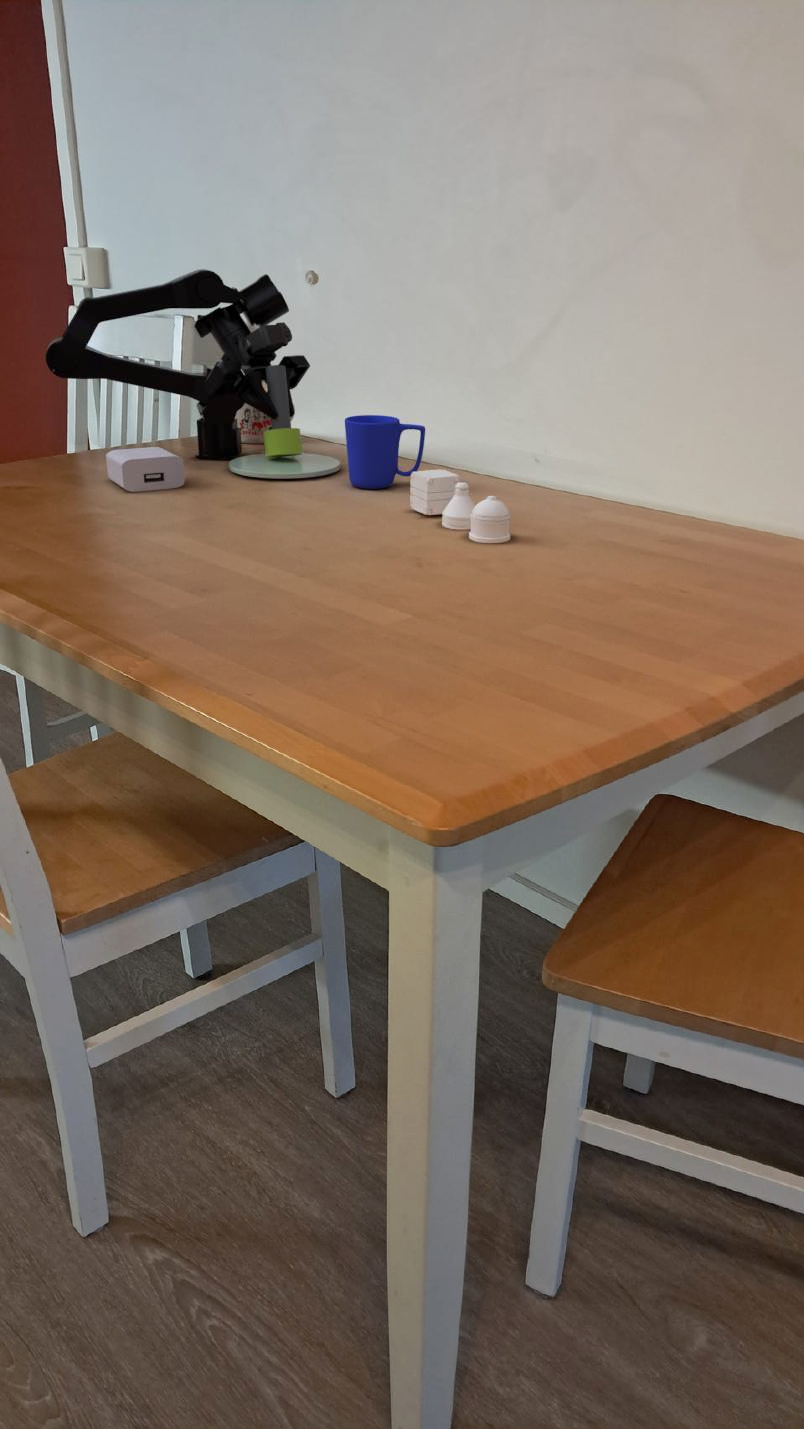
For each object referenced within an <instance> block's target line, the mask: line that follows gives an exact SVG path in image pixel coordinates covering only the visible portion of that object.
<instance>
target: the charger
mask: <svg viewBox="0 0 804 1429" xmlns="http://www.w3.org/2000/svg"><path fill="white" fill-rule="evenodd" d="M105 460H106V470H107V477H108V479H109V480H111V481H112V482H114V483H115V484H116V485H118V486H119V487H121V488H122V489H124V490H125V491H127V492H129V493H130V492H131V493H136V492H137V493H139V492H149V491H159V490H160V491H161V490H171V489H177V488H180V487H182V486H183V485H184V484H185V472H184V470H185V469H184V460H183V458H181V457H180V456H178V455H176V454H174V453H172V452H170V451H168V450H166V449H164V448H162V447H160V446H150V447H149V446H147V447H136V448H133V447H132V448H121V449H112V450H110V451H109V452H107V453H106V454H105Z"/></svg>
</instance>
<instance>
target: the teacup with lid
mask: <svg viewBox="0 0 804 1429" xmlns="http://www.w3.org/2000/svg"><path fill="white" fill-rule="evenodd" d="M262 385H263V387H264V389H265V391H266V393H267V391H268V389H267V384H266V383H265V382H264V381H263V382H262ZM293 406H294V411H295V412H296V408H295V405H294V404H293ZM294 417H295V414H294V415H293V417H290V421H291V422H292V421H293V419H294ZM235 419H237V426H238V428H240V429H241V444H249V445H258V444H259V445H262V444H263V445H264V435H263V432H264V431H267V430H272V428H271V419H270V417H269V416H267V415H266V414H264V413H262V412H261V411H259V410H257V409H255V408H254V407H252V406H250V405H248V404H246V403H245V404H244V406H243V407H242V408H241V409H240V410H238V411H237V413H236V417H235Z"/></svg>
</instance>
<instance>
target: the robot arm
mask: <svg viewBox="0 0 804 1429" xmlns="http://www.w3.org/2000/svg"><path fill="white" fill-rule="evenodd" d="M221 304H230V305H227V306H223V307H220V306H219V305H221ZM218 306H219V307H218ZM169 309H182V310H183V309H184V310H185V309H186V310H187V309H188V310H197V309H200V310H201V309H205V310H207V309H213V310H212V311H210V312H209V313H207V314H203V315H202V314H198V315H197V319H196V321H195V323H194V326H193V327H194V329H195V331H196V333H197V335H198V337H199V338H201V339H202V338H204V337H206V336H208V335H209V334H211V336H212V337H213V339H214V340H215V342H216V344H217V345H218V347H219V348H220V350H221V351H222V353H223V355H222V357H221V358H220V360H221V361H220V360H219V361H216V363H215V364H214V366H213V367H212V366H209V365H207V364H203V366H202V367H203V368H202V369H203V370H202V372H188V371H184V370H181V369H175V368H170V367H165V366H161V365H157V364H153V363H148V362H144V361H139V360H134V359H130V358H124V357H121V356H116V355H111V354H107V353H105V352H102V351H100V350H99V349H96V348H94V347H91V346H90V345H88V344H89V343H90V341H91V339H92V337H93V335H94V333H95V331H96V329H97V327H98V326H99V324H101V323H104V322H108V321H113V320H118V319H123V318H124V319H125V318H129V317H133V316H138V315H144V314H149V313H154V312H159V311H165V310H169ZM289 312H290V308H289V306H288V304H287V301H286V299H285V297H284V295H283V293H282V292H281V291H279V289H278V288H277V286H276V284H274V282H273V281H272V279H271V277H270V275H268V274H265V273H264V274H263V275H261V276H259V277H258V278H257V279H256V280H255V281H254V282H252V283H251V284H249V285H247V286H246V287H244V288H243V289H240V290H239V289H238V288H236V287H234V286H231V287H230V286H228V285H226V284H225V283H224V281H223V279H222V278H221V276H220V275H219V274H218V273H217V272H215V271H213V270H209V269H204V268H199V269H196V270H193V271H191V272H188V273H186V274H183V275H181V276H179V277H176V278H174V279H172V280H169V281H167V282H165V283H162V284H158V285H152V286H147V287H142V288H137V289H132V290H131V289H130V290H126V291H121V292H116V293H111V294H106V295H101V296H96V297H95V296H94V297H93V296H86V297H83V299H81V300H80V301H79V304H78V306H77V310H76V311H75V313H74V315H73V317H72V318H71V320H70V321H69V323H68V325H67V327H66V328H65V330H64V332H63V334H62V336H61V337H57V338H55V339H53V340H52V341H50V343H49V345H48V346H47V349H46V352H45V363H46V365H47V368H48V369H49V370H50V373H52V374H53V375H55V376H56V377H58V378H61V379H71V380H109V381H113V382H116V383H117V382H118V383H123V384H127V385H132V386H137V387H142V388H145V389H151V390H154V391H159V392H166V393H169V394H174V395H179V396H183V397H187V398H191V399H193V400H195V401H197V403H196V408H197V410H198V413H199V415H200V418H198V419H196V431H197V432H196V435H197V450H198V453H196V454H195V457H194V458H195V459H209V460H230V461H231V460H233V459H236V458H238V457H239V456H240V455H241V454H243V450H242V447H243V446H242V443H241V429H240V428H238V426H237V419H235V417H236V413H237V411H238V410H240V409H241V408H242V407H243V406H244V404H245V403H246V404H248V405H250V406H252V407H254V408H255V409H257V410H259V411H261V412H262V413H264V414H266V415H267V416H269V417H271V418H272V419H276V418H277V417H278V413H277V411H276V408H275V406H274V405H273V403H272V401H271V399H270V398H269V396H268V391H267V393H266V391H265V389H264V387H263V385H262V382H265V383H266V384H267V379H266V369H265V368H266V367H268V366H275V365H276V364H272V362H274V361H275V359H276V358H277V357H278V356H277V353H276V352H278V350H280V349H282V348H283V347H284V348H285V347H287V346H288V345H289V343H290V342H292V341H293V334H292V331H291V329H290V327H288V325H287V324H286V323H285V322H276V323H275V324H271V323H273V322H275V321H276V320H278V319H280V318H281V317H283V316H284V315H286V314H287V313H289ZM241 315H243V316H244V317H245V320H246V321H247V323H248V324H249V325H250V327H254V326H257V328H256V329H254V330H253V331H251V329H250V328H249V326H248V325H247V323H246V322H245V320H244V318H243V317H242V316H241ZM278 365H282V366H285V370H286V380H287V390H288V400H289V411H290V417H293V415H294V416H295V414H296V413H295V412H296V410H295V411H294V408H295V405H294V402H293V398H292V393H291V390H293V389H295V388H296V387H297V386H298V385H299V384H300V382H301V380H302V379H303V378H304V376H306V373H307V372H308V370H309V369H310V367H311V365H310V363H309V361H308V359H307V358H306V356H305V355H302V354H296V355H295V354H294V355H284V356H283V357H282V358H281V360H280V362H279V363H278ZM293 405H294V406H293ZM293 418H294V417H293Z"/></svg>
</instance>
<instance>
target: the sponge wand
mask: <svg viewBox="0 0 804 1429" xmlns="http://www.w3.org/2000/svg"><path fill="white" fill-rule="evenodd" d="M274 365H275V366H268V367H266V368H265V369H266V379H267V389H268V396H269V398H270V399H271V401H272V403H273V405H274V406H275V408H276V411H277V413H278V417H277V418H276V419H272V418H271V417H270V419H271V428H272V430H267V431H264V432H263V435H264V443H263V445H264V452H265V453H264V454H266V457H288V456H297V455H301V454H302V453H303V447H302V436H301V428H296V427H292V421H290V411H289V400H288V390H287V380H286V370H285V366H282V365H279V364H274Z"/></svg>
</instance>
